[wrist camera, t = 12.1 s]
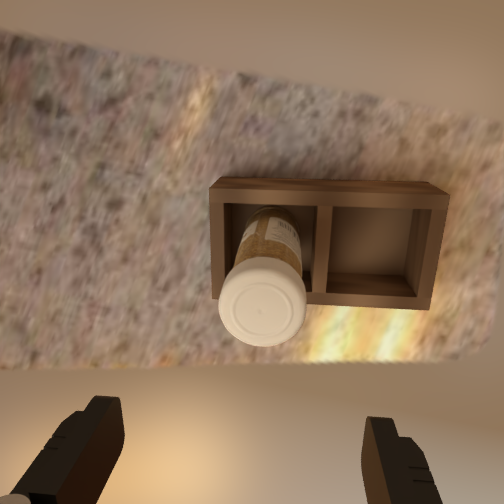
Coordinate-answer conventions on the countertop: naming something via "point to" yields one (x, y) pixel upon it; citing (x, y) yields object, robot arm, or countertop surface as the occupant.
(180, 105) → the countertop surface
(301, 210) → the spice caddy
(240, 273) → the sprinkles bottle
